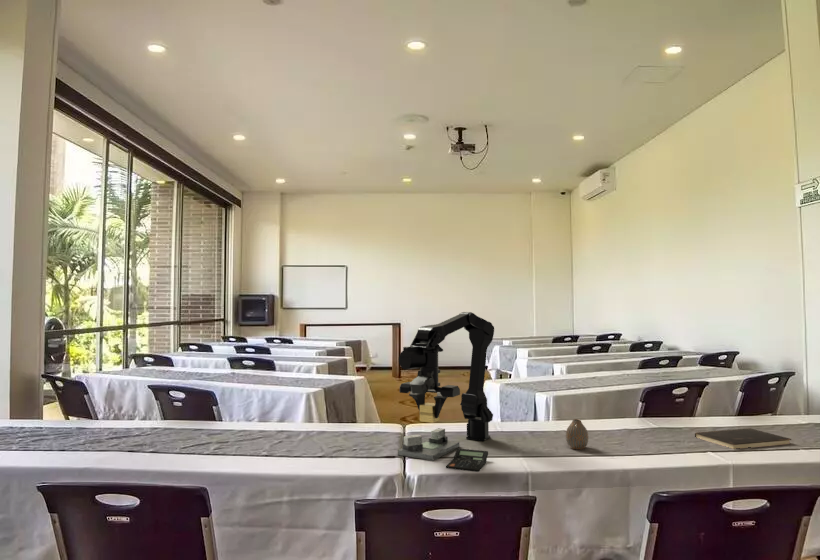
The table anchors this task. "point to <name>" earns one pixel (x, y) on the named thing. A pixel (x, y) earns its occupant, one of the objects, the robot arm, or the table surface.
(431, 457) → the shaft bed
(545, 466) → the table surface
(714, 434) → the hardcover book
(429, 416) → the tan cube
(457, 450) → the calculator
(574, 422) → the vase
